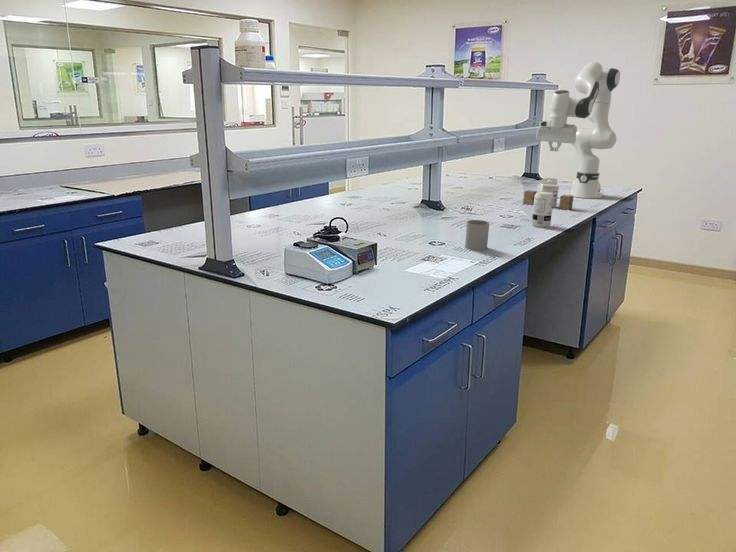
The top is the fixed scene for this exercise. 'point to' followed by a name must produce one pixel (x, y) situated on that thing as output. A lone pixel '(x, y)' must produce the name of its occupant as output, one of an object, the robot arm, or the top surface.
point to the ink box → (550, 188)
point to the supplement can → (542, 209)
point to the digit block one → (566, 202)
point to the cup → (477, 235)
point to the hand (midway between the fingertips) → (554, 151)
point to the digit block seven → (529, 197)
